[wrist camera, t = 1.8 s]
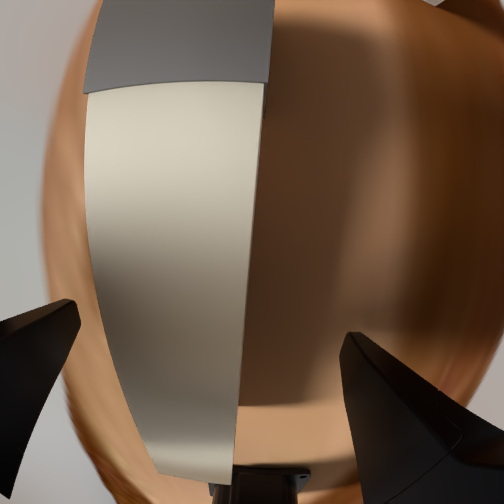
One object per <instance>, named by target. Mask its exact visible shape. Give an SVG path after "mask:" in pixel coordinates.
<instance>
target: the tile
mask: <svg viewBox="0 0 504 504" xmlns="http://www.w3.org/2000/svg"><path fill="white" fill-rule="evenodd" d="M423 1H425V2H427V3H429V4H431V5H433V6H437V5H438V4H440V3H441V2H443V1H444V0H423Z"/></svg>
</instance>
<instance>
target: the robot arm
mask: <svg viewBox="0 0 504 504" xmlns="http://www.w3.org/2000/svg"><path fill="white" fill-rule="evenodd" d="M80 327H81V319H80V316H79V312H78V308H77V304H76V302H75V301H74V300H70V299H62V300H59V301H56V302H53V303H50V304H48V305H45V306H42V307H39V308H36V309H34V310H31V311H28V312H25V313H22V314H19V315H17V316H14V317H11V318H8V319H6V320H3V321H0V493H1V494H2V495H3V496H5V497H6V498H8V499H10V497H11V494H12V490H13V487H14V483H15V480H16V476H17V474H18V470H19V467H20V464H21V461H22V458H23V455H24V452H25V450H26V447H27V444H28V441H29V439H30V437H31V434H32V431H33V429H34V426H35V424H36V422H37V419H38V417H39V415H40V413H41V410H42V408H43V406H44V404H45V402H46V400H47V397H48V395H49V393H50V391H51V389H52V387H53V385H54V383H55V381H56V379H57V377H58V375H59V373H60V371H61V369H62V367H63V366H64V364H65V362H66V359H67V357H68V355H69V352H70V350H71V347H72V345H73V343H74V341H75V338H76V336H77V334H78V332H79V329H80ZM339 361H340V369H341V378H342V387H343V396H344V403H345V408H346V412H347V417H348V421H349V426H350V431H351V435H352V440H353V445H354V450H355V456H356V461H357V466H358V472H359V477H360V483H361V489H362V496H363V502H364V504H504V431H503V430H501V429H499V428H497V427H496V426H494V425H492V424H491V423H489V422H487V421H486V420H484V419H482V418H480V417H479V416H477V415H475V414H474V413H472V412H470V411H469V410H467V409H466V408H464V407H463V406H461V405H460V404H458V403H457V402H455V401H454V400H452V399H451V398H450V397H448V396H447V395H445V394H444V393H443V392H441V391H438V389H437V388H436V387H434V386H433V385H432V384H430V383H429V382H428V381H426V380H425V379H424V378H422V377H421V376H420V375H418V374H417V373H415V372H414V371H413V370H411V369H410V368H409V367H407V366H406V365H405V364H403V363H402V362H400V361H399V360H398V359H396V358H395V357H394V356H392V355H391V354H390V353H388V352H387V351H386V350H384V349H383V348H381V347H380V346H379V345H377V344H376V343H375V342H373V341H372V340H371V339H369V338H368V337H366V336H365V335H364V334H362V333H361V332H348V333H347V334H346V336H345V339H344V342H343V345H342V348H341V351H340V355H339ZM310 477H311V471H310V470H308V469H299V470H261V469H242V468H232V478H231V485H225V484H216V483H208V484H209V491H210V495H211V496H213V501H212V504H298V500H297V494H298V493H299V491H300V490H301V489H302V488H303V486H304V485H305V484H306V482H307V481H308V480H309V478H310Z"/></svg>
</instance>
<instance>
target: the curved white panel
mask: <svg viewBox="0 0 504 504" xmlns="http://www.w3.org/2000/svg"><path fill="white" fill-rule="evenodd" d="M274 6H275V0H103V3H102V6H101V9H100V13H99V16H98V20H97V23H96V27H95V31H94V35H93V39H92V44H91V48H90V53H89V58H88V63H87V69H86V75H85V81H84V88H83V93H84V94H88V95H89V97H88V106H87V117H86V131H85V157H84V179H85V206H86V220H87V232H88V241H89V250H90V258H91V265H92V271H93V277H94V283H95V289H96V294H97V299H98V304H99V309H100V314H101V318H102V322H103V327H104V331H105V335H106V338H107V342H108V346H109V350H110V353H111V357H112V360H113V363H114V366H115V370H116V373H117V376H118V379H119V382H120V385H121V388H122V391H123V393H124V396H125V399H126V402H127V404H128V407H129V410H130V412H131V415H132V417H133V420H134V422H135V424H136V427H137V429H138V431H139V434H140V436H141V438H142V440H143V443H144V445H145V447H146V449H147V451H148V453H149V455H150V457H151V459H152V461H153V463H154V465H155V467H156V469H157V471H158V473H160V474H164V475H169V476H173V477H178V478H184V479H189V480H195V481H201V482H208V483H216V484H225V485H231V478H232V467H233V456H234V445H235V434H236V423H237V412H238V401H239V389H240V377H241V365H242V353H243V341H244V330H245V318H246V306H247V294H248V282H249V271H250V259H251V247H252V236H253V224H254V212H255V201H256V189H257V177H258V166H259V154H260V142H261V131H262V119H264V118H265V108H266V97H267V87H268V76H269V64H270V53H271V41H272V29H273V18H274Z"/></svg>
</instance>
